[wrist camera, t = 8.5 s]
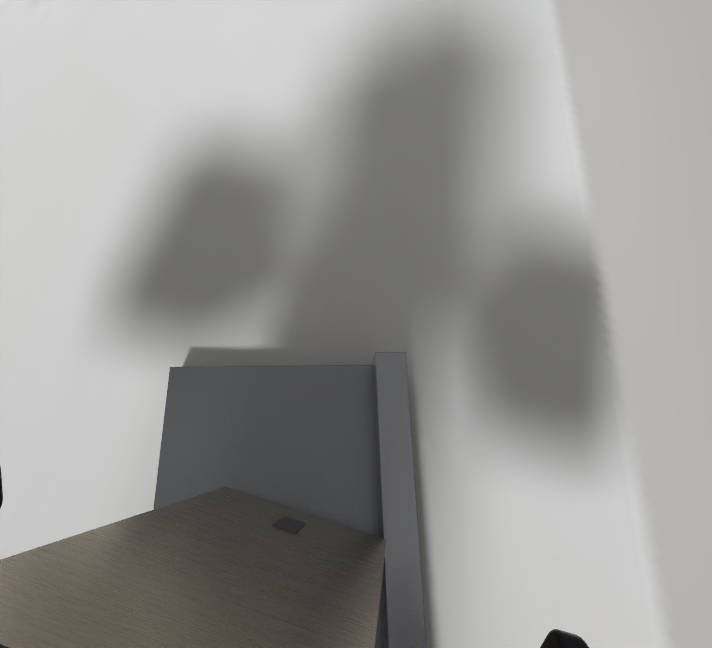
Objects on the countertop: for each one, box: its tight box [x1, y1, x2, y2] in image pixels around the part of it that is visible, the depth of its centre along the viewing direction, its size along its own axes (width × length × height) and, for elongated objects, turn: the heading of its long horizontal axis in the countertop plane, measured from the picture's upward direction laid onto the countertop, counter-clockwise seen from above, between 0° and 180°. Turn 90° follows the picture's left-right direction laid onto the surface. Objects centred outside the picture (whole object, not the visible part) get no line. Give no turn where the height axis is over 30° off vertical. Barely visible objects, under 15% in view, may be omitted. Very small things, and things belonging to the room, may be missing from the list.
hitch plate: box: [154, 352, 426, 648], centre depth 14 cm, size 14×8×2 cm, turn 2°
